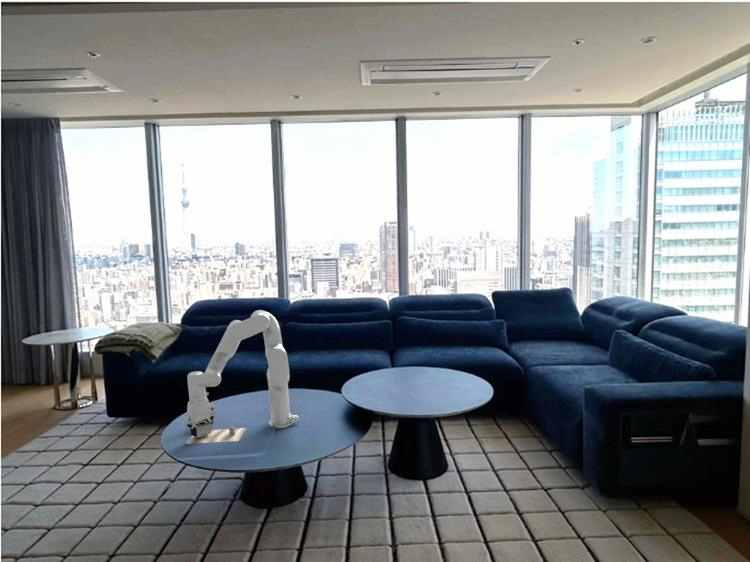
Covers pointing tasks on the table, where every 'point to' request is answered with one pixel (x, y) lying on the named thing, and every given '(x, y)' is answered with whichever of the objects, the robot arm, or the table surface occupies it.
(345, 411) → the table surface
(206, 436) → the stand board
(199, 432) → the collar
